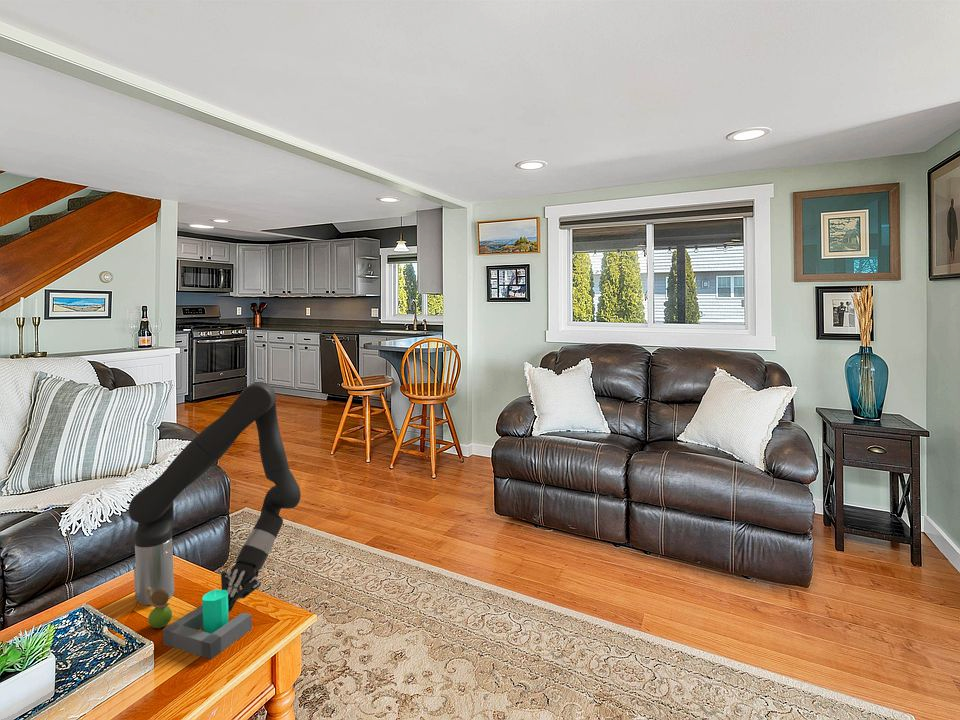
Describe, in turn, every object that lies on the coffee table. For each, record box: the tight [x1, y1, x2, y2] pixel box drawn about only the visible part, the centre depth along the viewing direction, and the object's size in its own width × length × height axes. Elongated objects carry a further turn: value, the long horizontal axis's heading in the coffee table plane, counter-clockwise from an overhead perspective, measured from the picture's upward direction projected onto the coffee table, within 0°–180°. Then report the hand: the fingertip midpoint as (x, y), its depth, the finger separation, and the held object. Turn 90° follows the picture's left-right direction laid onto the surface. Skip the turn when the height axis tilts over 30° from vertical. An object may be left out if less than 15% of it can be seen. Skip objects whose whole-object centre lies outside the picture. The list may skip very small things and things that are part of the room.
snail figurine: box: [144, 582, 173, 629], centre depth 137 cm, size 5×6×12 cm
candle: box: [201, 588, 230, 634], centre depth 135 cm, size 6×6×12 cm
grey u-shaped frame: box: [162, 604, 253, 660], centre depth 133 cm, size 16×13×4 cm
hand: (223, 612), depth 138 cm, fingers closed
